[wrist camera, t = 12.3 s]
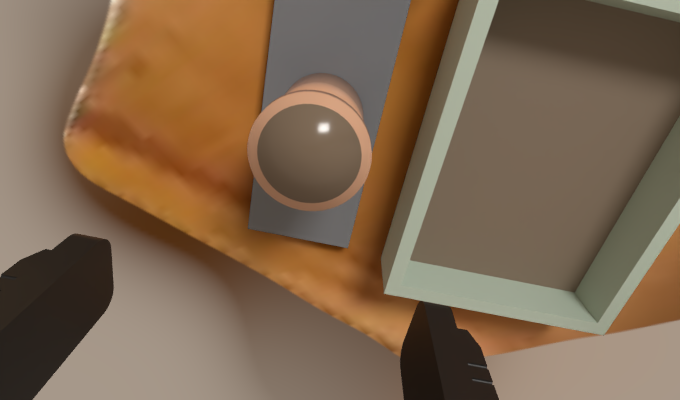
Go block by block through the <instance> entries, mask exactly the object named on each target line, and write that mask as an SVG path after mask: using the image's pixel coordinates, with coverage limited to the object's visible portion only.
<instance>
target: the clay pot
mask: <svg viewBox="0 0 680 400" xmlns="http://www.w3.org/2000/svg"><path fill="white" fill-rule="evenodd" d="M247 152H248V160H249V164H250V168H251V170H252V173H253V175H254V177H255V179H256V180H257V182H258V183H259V185H260V186H261V187H262V188H263V190H264V191H265V192H266V193H267V194H269V195H270V196H271V197H272V198H274V199H275V200H276V201H278V202H280V203H282V204H284V205H286V206H288V207H291V208H294V209H298V210H303V211H322V210H327V209H331V208H334V207H337V206H339V205H341V204H343V203H345V202H346V201H348V200H349V199H350V198H352V197H353V196H354V195H355V194H356V193H357V192H358V191H359V190H360V188H361V187H362V185H363V184H364V182H365V180H366V178H367V176H368V173H369V170H370V166H371V160H372V151H371V140H370V136H369V132H368V130H367V127H366V125H365V123H364V113H363V106H362V102H361V100H360V97H359V95H358V94H357V92H356V91H355V89H354V88H353V87H352V86H351V85H350V84H349V83H348V82H347V81H345V80H344V79H342V78H340V77H338V76H336V75H332V74H328V73H314V74H310V75H307V76H304V77H302V78H301V79H299V80H297V81H296V82H295V83H294V84H293V85H292V86H291V87H290V88H289V89H288V90H287V92H286V93H285V94H284V95H282V96H280V97H279V98H277V99H275V100H274V101H273V102H271V103H270V104H269V105H268V106H267V107H266V108H265V109H264V110H263V111H262V112H261V114H260V115H259V116H258V118H257V119H256V121H255V122H254V124H253V126H252V128H251V131H250V134H249V139H248V148H247Z"/></svg>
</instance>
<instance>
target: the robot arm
mask: <svg viewBox="0 0 680 400" xmlns="http://www.w3.org/2000/svg"><path fill="white" fill-rule="evenodd" d="M111 255H112V254H111V245H110V242H109V241H108V240H106V239H102V238H97V237H91V236H86V235H81V234H72V235H70V236H69V237H67V238H66V239H65V240H64V241H63V242H61V243H60V244H59V245H58V246H56V247H55V248H54V249H52V250H47V249H45V250H42V251H40V252H38V253H35V254H33V255H31V256H29V257H26V258H24V259H21V260H20V261H18V262H17V263H16V264H14V265H13V266H12V267H11V268H9V269H8V270H7V271H5V272H4V273H2V274H1V277H0V400H32V399H33V398H34V397H35V396H36V395H37V393H38V392H39V391H40V390H41V388H42V387H43V386H44V385H45V384H46V383H47V381H48V380H49V379H50V378H51V376H52V375H53V374H54V373H55V372H56V370H57V369H58V368H59V367H60V366H61V364H62V363H63V362H64V361H65V360H66V358H67V357H68V356H69V355H70V354H71V352H72V351H73V350H74V349H75V347H76V346H77V345H78V344H79V343H80V341H81V340H82V339H83V338H84V337H85V335H86V334H87V333H88V332H89V330H90V329H91V328H92V327H93V326H94V324H95V323H96V322H97V321H98V320H99V318H100V317H101V316H102V315H103V314H104V312H105V311H106V309H107V308H108V306H109V304H110V302H111V298H112V295H113V271H112V256H111ZM400 368H401V377H402V386H403V394H404V400H499V398H498V395H497V393H496V390H495V387H494V385H492V382H493V381H492V378H491V376H490V373H489V370H488V369H487V364H486V361H485V358H484V356H483V353H482V350H481V347H480V346H479V345H478V343H477V342H476V341H475V340H474V338H473V337H472V336H471V334H470V333H469V332H468V331H467V330H464V329H458V328H457V326H456V323H455V320H454V316H453V313H452V310H451V308H450V307H449V306H445V305H440V304H435V303H430V302H425V301H420V302H419V303H418V305H417V307H416V310H415V313H414V315H413V318H412V320H411V323H410V326H409V328H408V331H407V334H406V336H405V339H404V342H403V345H402V350H401V358H400Z"/></svg>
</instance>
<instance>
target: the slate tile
mask: <svg viewBox="0 0 680 400" xmlns="http://www.w3.org/2000/svg"><path fill="white" fill-rule="evenodd" d="M410 2H411V0H275V2H274V10H273V19H272V27H271V36H270V44H269V53H268V61H267V70H266V78H265V87H264V95H263V104H262V111H263V110H264V109H265V108H266V107H267V106H268V105H269V104H270V103H271V102H273V101H274V100H275V99H277V98H279V97H280V96H282V95H284V94H285V93H286V92H287V90H288V89H289V88H290V87H291V86H292V85H293V84H294V83H295V82H296V81H297V80H299V79H301V78H302V77H304V76H307V75H310V74H314V73H328V74H332V75H336V76H338V77H340V78H342V79H344V80H345V81H347V82H348V83H349V84H350V85H351V86H352V87H353V88H354V89H355V91H356V92H357V94H358V95H359V97H360V100H361V102H362V106H363V113H364V123H365V125H366V127H367V130H368V132H369V136H370V140H371V151H373V147H374V143H375V139H376V135H377V131H378V127H379V124H380V120H381V116H382V112H383V108H384V104H385V100H386V96H387V92H388V88H389V84H390V80H391V76H392V72H393V69H394V65H395V61H396V57H397V53H398V49H399V45H400V41H401V37H402V33H403V29H404V25H405V21H406V18H407V14H408V10H409V6H410ZM363 186H364V184H363V185H362V187H361V188H360V190H359V191H358V192H357V193H356V194H355V195H354V196H353V197H352V198H350V199H349V200H348V201H346V202H345V203H343V204H341V205H339V206H337V207H334V208H331V209H327V210H322V211H303V210H298V209H294V208H291V207H288V206H286V205H284V204H282V203H280V202H278V201H276V200H275V199H274V198H272V197H271V196H270V195H269V194H267V193H266V192H265V191H264V190H263V188H262V187H261V186H260V185H259V183H258V182H257V180H256V179H255V177H254V180H253V188H252V197H251V205H250V214H249V222H248V229H252V230H258V231H263V232H268V233H273V234H278V235H283V236H288V237H293V238H298V239H304V240H309V241H314V242H319V243H324V244H329V245H334V246H339V247H344V248H348V245H349V241H350V237H351V233H352V230H353V226H354V222H355V218H356V214H357V210H358V206H359V202H360V198H361V194H362V190H363Z"/></svg>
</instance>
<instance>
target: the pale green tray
mask: <svg viewBox="0 0 680 400" xmlns="http://www.w3.org/2000/svg"><path fill="white" fill-rule="evenodd" d="M679 224H680V0H459V2H458V5H457V9H456V12H455V15H454V19H453V22H452V25H451V28H450V32H449V35H448V38H447V42H446V45H445V48H444V52H443V55H442V58H441V61H440V65H439V68H438V71H437V75H436V78H435V81H434V85H433V88H432V91H431V94H430V98H429V101H428V104H427V108H426V111H425V114H424V118H423V121H422V124H421V127H420V131H419V134H418V137H417V141H416V144H415V147H414V151H413V154H412V157H411V160H410V164H409V167H408V170H407V174H406V177H405V180H404V184H403V187H402V190H401V193H400V197H399V200H398V203H397V207H396V210H395V213H394V216H393V220H392V223H391V226H390V230H389V233H388V236H387V240H386V243H385V246H384V249H383V253H382V256H381V266H382V277H383V288H384V294H389V295H394V296H399V297H404V298H410V299H415V300H420V301H425V302H431V303H436V304H441V305H446V306H452V307H457V308H462V309H467V310H473V311H478V312H483V313H488V314H494V315H499V316H504V317H510V318H515V319H520V320H525V321H531V322H536V323H541V324H546V325H552V326H557V327H562V328H567V329H573V330H578V331H583V332H588V333H594V334H599V335H604V334H605V333H606V331H607V330H608V329H609V327H610V326H611V324H612V323H613V321H614V320H615V318H616V317H617V315H618V314H619V312H620V311H621V309H622V308H623V306H624V305H625V303H626V302H627V300H628V299H629V298H630V296H631V295H632V293H633V292H634V290H635V289H636V287H637V286H638V284H639V283H640V281H641V280H642V278H643V277H644V275H645V274H646V272H647V271H648V269H649V268H650V266H651V265H652V264H653V262H654V261H655V259H656V258H657V256H658V255H659V253H660V252H661V250H662V249H663V247H664V246H665V244H666V243H667V241H668V240H669V238H670V237H671V235H672V234H673V232H674V231H675V230H676V228H677V227H678V225H679Z"/></svg>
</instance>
